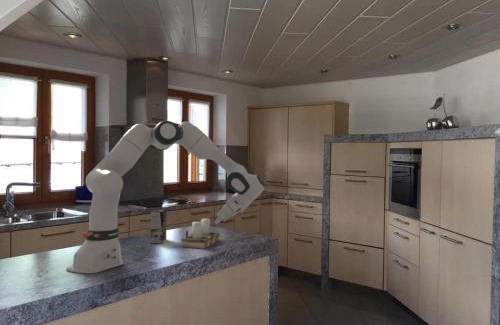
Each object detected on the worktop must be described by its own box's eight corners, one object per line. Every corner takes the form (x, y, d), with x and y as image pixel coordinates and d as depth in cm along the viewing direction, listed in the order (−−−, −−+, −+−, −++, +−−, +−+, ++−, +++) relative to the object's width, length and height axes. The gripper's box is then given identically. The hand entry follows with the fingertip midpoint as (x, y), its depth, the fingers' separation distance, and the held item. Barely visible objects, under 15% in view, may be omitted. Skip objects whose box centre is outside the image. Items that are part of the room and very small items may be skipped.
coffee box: (162, 243, 203) (162, 211, 203) (150, 243, 203) (150, 211, 203) (166, 239, 212) (166, 209, 212) (154, 239, 212) (154, 209, 212)
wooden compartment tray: (203, 248, 192) (203, 234, 192) (181, 246, 196) (181, 232, 196) (219, 240, 211) (219, 227, 211) (198, 238, 215) (198, 225, 215)
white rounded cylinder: (199, 241, 196) (199, 223, 195) (190, 241, 197) (190, 223, 197) (203, 239, 200) (203, 222, 200) (194, 239, 202) (194, 221, 201)
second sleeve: (207, 237, 206) (207, 220, 205) (199, 237, 207) (199, 219, 207) (211, 235, 210) (211, 218, 210) (203, 235, 212) (203, 218, 211)
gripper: (241, 196, 202) (223, 214, 205) (226, 199, 182) (206, 219, 186) (249, 205, 201) (231, 223, 204) (235, 210, 181) (215, 230, 184)
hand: (219, 221), depth 194 cm, fingers open, 8 cm apart
